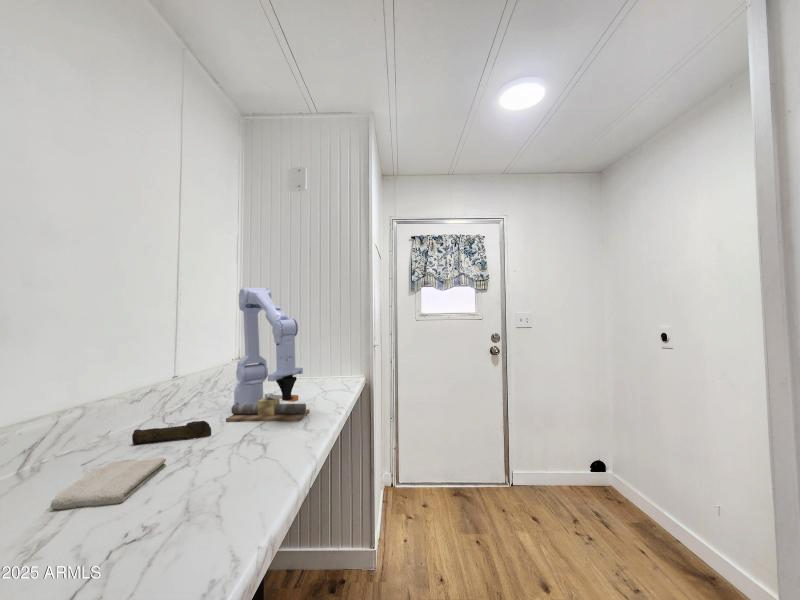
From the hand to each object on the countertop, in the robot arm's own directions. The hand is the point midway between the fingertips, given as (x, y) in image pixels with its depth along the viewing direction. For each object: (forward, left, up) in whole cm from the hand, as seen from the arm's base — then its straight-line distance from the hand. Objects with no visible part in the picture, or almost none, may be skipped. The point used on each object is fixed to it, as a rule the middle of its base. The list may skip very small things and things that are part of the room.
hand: (286, 400), depth 115 cm
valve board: (-8, +5, -7) cm, 11 cm away
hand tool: (-26, -16, -7) cm, 31 cm away
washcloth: (-19, -42, -7) cm, 47 cm away
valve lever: (-3, +3, 0) cm, 4 cm away
